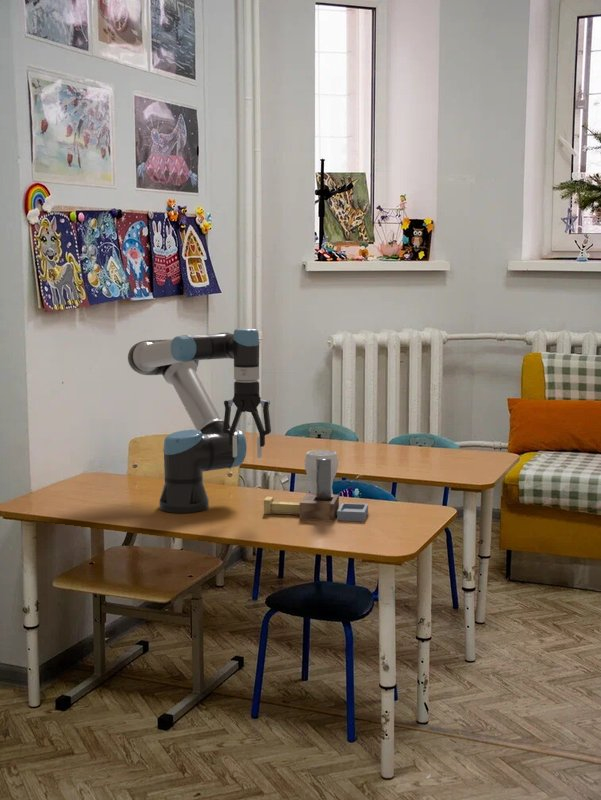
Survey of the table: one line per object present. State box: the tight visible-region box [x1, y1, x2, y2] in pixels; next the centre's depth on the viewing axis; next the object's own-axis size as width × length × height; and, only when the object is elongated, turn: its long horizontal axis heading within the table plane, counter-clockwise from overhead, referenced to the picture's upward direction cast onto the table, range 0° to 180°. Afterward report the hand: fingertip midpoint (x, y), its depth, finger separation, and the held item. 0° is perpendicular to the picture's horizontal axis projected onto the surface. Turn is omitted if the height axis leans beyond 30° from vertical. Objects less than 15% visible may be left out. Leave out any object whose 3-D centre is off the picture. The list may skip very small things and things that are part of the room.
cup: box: [304, 449, 339, 494], centre depth 318 cm, size 11×11×15 cm
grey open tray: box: [336, 502, 369, 522], centre depth 297 cm, size 8×10×3 cm
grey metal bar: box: [316, 458, 331, 501], centre depth 298 cm, size 4×4×17 cm
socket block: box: [299, 492, 340, 522], centre depth 299 cm, size 10×12×5 cm
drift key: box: [263, 496, 300, 516], centre depth 301 cm, size 12×5×4 cm, turn 80°
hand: (247, 456), depth 301 cm, fingers open, 7 cm apart
